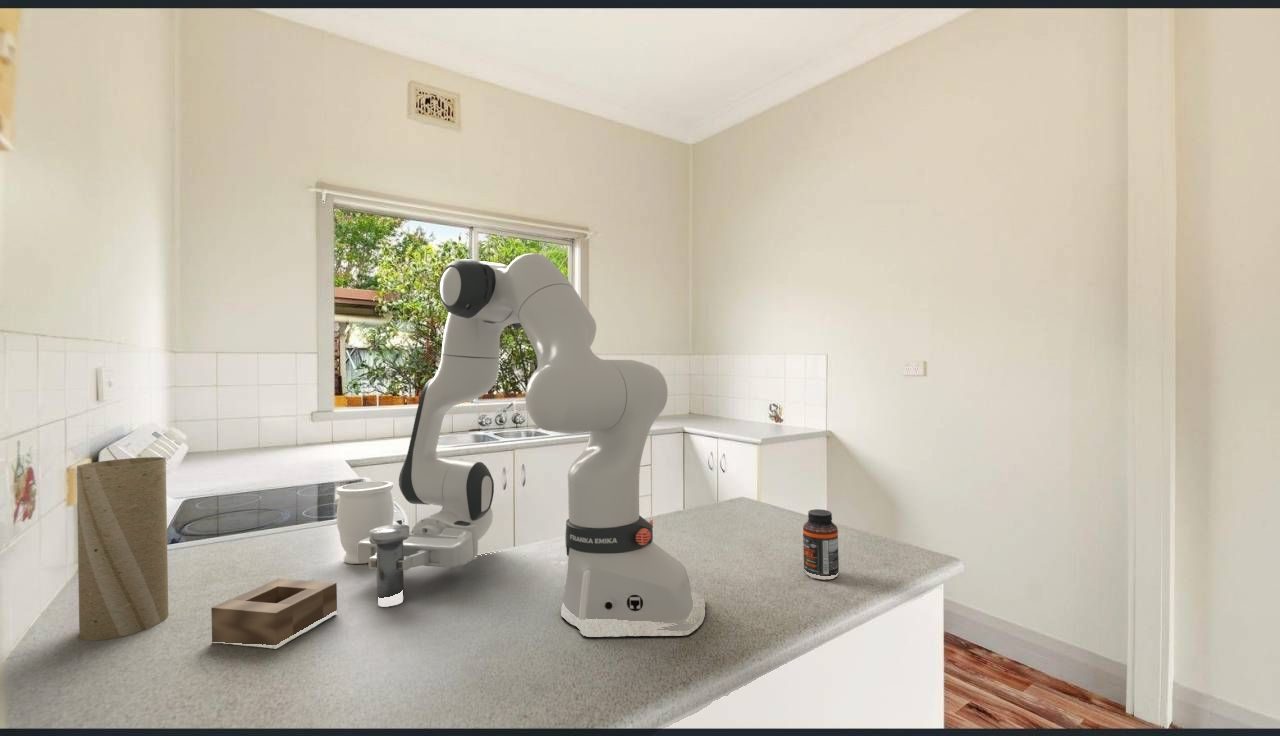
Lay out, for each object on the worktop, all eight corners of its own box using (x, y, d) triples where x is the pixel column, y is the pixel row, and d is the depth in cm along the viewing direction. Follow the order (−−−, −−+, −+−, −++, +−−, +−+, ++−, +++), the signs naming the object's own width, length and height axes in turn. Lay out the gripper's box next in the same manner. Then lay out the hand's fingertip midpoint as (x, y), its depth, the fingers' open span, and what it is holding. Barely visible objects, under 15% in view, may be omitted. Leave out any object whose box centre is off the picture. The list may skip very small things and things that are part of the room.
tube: (102, 617, 87) (100, 460, 87) (179, 606, 91) (177, 455, 91) (62, 646, 78) (59, 470, 78) (150, 632, 81) (147, 464, 82)
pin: (418, 596, 92) (416, 525, 93) (395, 611, 87) (393, 535, 87) (387, 594, 94) (385, 523, 94) (362, 609, 88) (360, 534, 88)
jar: (404, 550, 118) (403, 480, 118) (376, 567, 107) (375, 490, 108) (357, 549, 119) (356, 480, 119) (325, 566, 108) (324, 490, 109)
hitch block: (337, 614, 86) (336, 582, 86) (276, 649, 75) (275, 613, 75) (278, 609, 88) (278, 578, 88) (212, 643, 78) (211, 607, 78)
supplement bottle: (796, 572, 99) (795, 510, 99) (822, 567, 101) (820, 506, 102) (820, 584, 94) (818, 517, 94) (846, 577, 96) (844, 513, 96)
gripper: (386, 520, 105) (331, 542, 92) (484, 524, 101) (441, 547, 87) (387, 553, 105) (332, 580, 92) (485, 558, 101) (442, 587, 87)
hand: (386, 564), depth 89 cm, fingers closed on pin, 4 cm apart
